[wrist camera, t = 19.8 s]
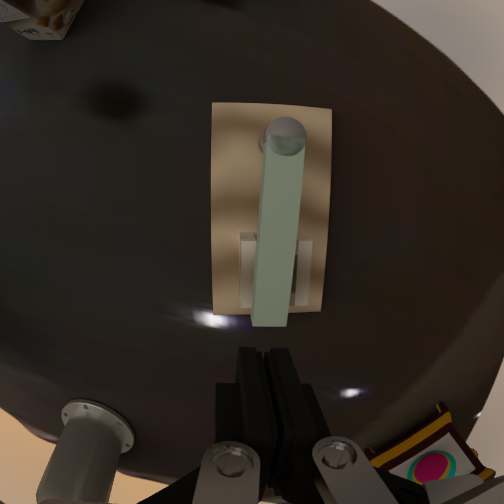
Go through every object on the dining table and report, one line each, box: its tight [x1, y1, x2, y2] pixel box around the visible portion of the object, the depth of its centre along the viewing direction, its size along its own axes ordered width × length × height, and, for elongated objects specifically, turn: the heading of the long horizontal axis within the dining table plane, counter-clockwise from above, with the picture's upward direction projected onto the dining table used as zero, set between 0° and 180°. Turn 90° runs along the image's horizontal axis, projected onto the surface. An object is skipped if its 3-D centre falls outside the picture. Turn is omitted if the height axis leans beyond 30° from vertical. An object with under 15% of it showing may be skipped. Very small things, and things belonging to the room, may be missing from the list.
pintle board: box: [211, 103, 332, 315], centre depth 29 cm, size 22×12×6 cm, turn 179°
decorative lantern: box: [365, 402, 496, 485], centre depth 32 cm, size 20×20×30 cm
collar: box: [239, 232, 313, 308], centre depth 30 cm, size 6×6×4 cm
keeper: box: [251, 117, 307, 326], centre depth 25 cm, size 3×18×2 cm, turn 176°
